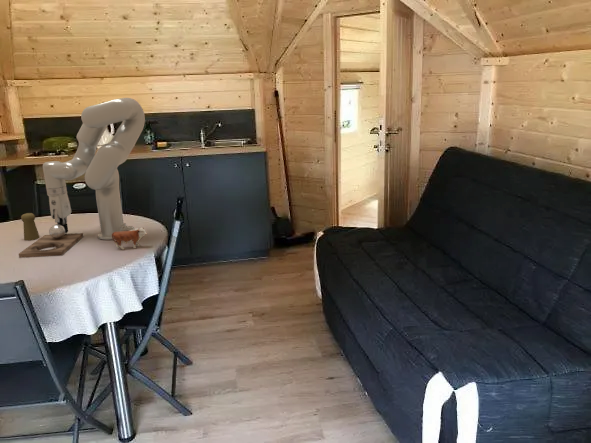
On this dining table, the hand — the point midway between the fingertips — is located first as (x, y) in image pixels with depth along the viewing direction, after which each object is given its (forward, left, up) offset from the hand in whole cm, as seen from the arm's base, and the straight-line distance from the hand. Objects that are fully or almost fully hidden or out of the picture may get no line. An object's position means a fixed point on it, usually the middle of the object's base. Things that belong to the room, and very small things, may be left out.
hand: (63, 232), depth 210 cm
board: (0, +12, -2) cm, 12 cm away
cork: (+14, -1, -2) cm, 14 cm away
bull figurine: (-33, +19, -2) cm, 38 cm away
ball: (0, +6, +2) cm, 7 cm away
